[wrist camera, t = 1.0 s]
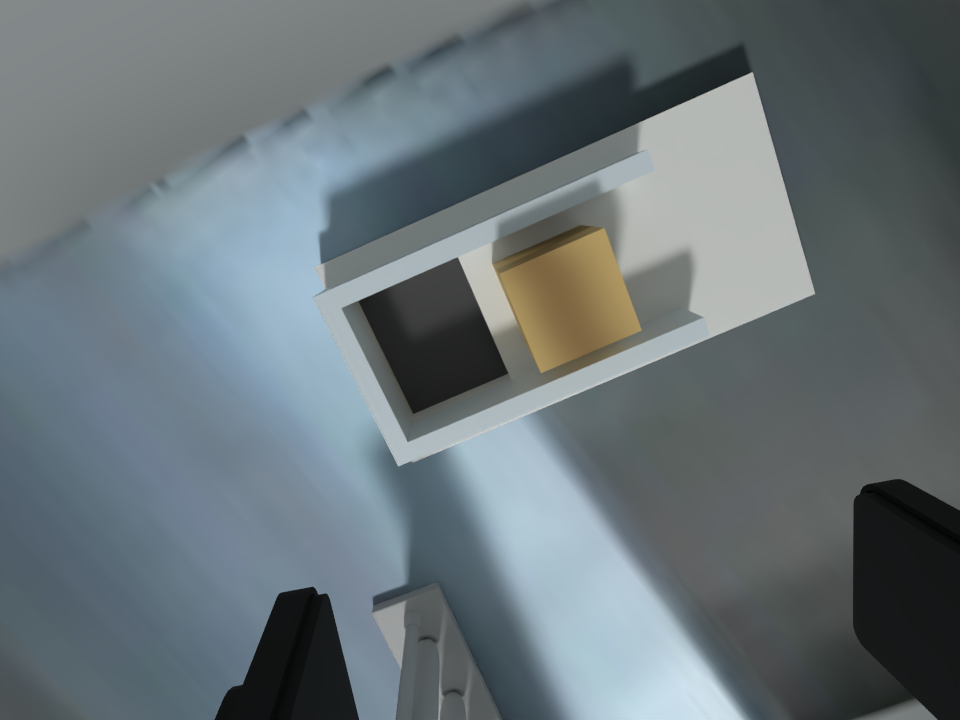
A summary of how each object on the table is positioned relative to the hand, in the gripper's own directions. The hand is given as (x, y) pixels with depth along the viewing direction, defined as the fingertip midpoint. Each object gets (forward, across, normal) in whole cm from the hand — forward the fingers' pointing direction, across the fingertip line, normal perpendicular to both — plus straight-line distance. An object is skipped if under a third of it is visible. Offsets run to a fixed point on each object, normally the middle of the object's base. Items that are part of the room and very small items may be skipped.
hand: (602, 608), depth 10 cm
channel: (+24, -5, -3) cm, 25 cm away
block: (+22, -4, -2) cm, 23 cm away
